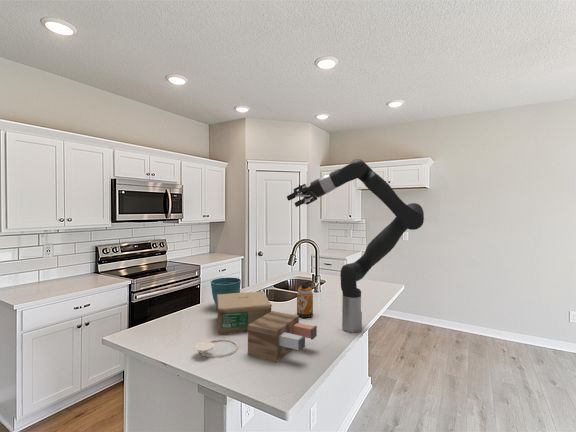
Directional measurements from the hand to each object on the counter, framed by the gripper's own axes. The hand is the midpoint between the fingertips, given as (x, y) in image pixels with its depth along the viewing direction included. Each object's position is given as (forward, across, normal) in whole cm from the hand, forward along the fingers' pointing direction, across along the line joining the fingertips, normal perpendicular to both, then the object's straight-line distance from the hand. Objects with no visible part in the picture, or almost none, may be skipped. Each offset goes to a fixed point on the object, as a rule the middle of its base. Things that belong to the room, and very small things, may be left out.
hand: (291, 201), depth 144 cm
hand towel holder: (+54, 0, -49) cm, 73 cm away
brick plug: (+21, +15, -53) cm, 59 cm away
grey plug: (+23, +3, -56) cm, 61 cm away
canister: (+30, +53, -40) cm, 73 cm away
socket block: (+32, +11, -55) cm, 65 cm away
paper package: (+56, +28, -37) cm, 72 cm away
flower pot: (+74, +43, -21) cm, 88 cm away
